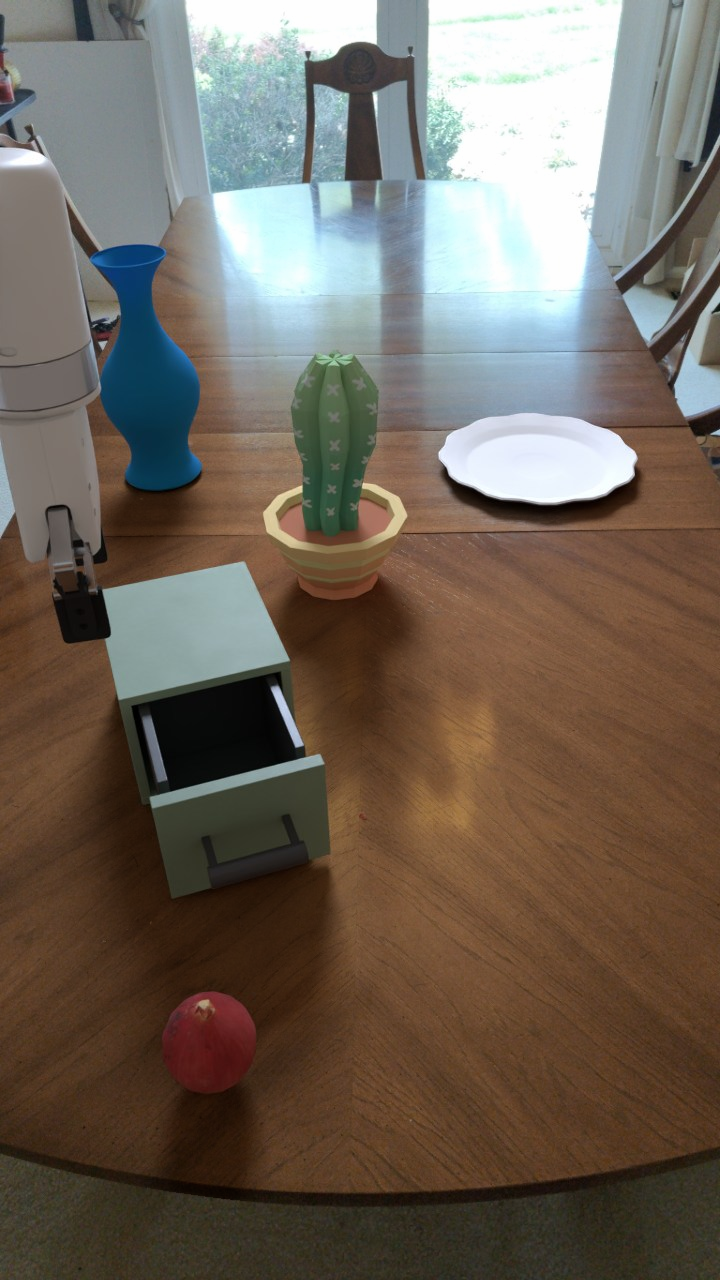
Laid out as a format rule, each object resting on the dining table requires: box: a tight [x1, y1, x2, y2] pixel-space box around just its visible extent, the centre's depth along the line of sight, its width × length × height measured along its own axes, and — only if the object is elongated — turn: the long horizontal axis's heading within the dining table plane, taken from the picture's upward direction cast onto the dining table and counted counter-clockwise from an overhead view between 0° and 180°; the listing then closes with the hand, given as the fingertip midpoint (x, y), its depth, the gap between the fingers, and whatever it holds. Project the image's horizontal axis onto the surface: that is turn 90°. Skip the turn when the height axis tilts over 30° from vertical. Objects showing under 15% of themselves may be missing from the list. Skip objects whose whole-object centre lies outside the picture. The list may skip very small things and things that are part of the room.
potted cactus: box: [262, 349, 409, 601], centre depth 101 cm, size 16×15×25 cm
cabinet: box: [102, 560, 297, 806], centre depth 86 cm, size 16×14×12 cm
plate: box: [438, 412, 639, 507], centre depth 127 cm, size 25×25×2 cm
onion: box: [161, 991, 257, 1095], centre depth 61 cm, size 6×6×8 cm
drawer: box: [137, 673, 332, 900], centre depth 76 cm, size 19×12×10 cm, turn 19°
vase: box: [89, 243, 203, 492], centre depth 120 cm, size 12×13×28 cm
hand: (87, 599), depth 71 cm, fingers open, 9 cm apart
